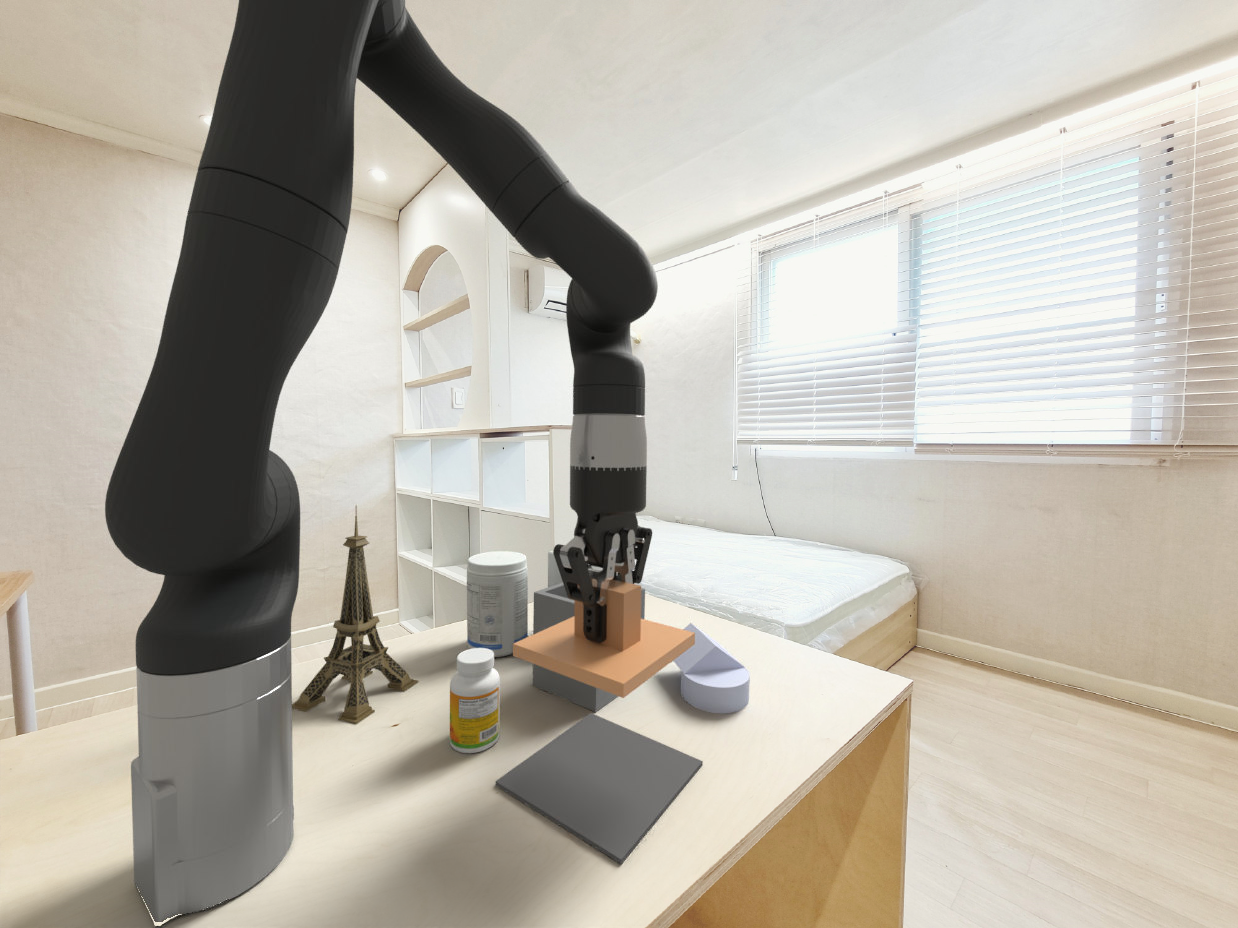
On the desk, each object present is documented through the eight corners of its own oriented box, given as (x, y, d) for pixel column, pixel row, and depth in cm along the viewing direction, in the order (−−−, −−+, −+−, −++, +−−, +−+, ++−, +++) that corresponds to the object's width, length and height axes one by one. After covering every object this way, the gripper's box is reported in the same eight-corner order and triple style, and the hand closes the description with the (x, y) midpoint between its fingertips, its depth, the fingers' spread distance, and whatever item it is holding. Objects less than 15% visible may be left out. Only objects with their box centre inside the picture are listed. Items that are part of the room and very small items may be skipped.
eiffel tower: (288, 708, 60) (286, 507, 59) (357, 670, 71) (356, 498, 69) (356, 724, 57) (355, 513, 56) (418, 682, 67) (418, 502, 66)
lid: (623, 712, 40) (624, 617, 40) (513, 667, 47) (513, 587, 47) (694, 655, 51) (696, 580, 50) (595, 626, 58) (596, 560, 58)
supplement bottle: (456, 725, 57) (457, 644, 57) (503, 724, 58) (503, 644, 57) (443, 755, 52) (443, 666, 52) (494, 754, 52) (495, 665, 52)
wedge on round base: (661, 669, 73) (697, 717, 60) (662, 624, 73) (698, 664, 60) (716, 663, 75) (761, 708, 63) (718, 620, 75) (763, 657, 62)
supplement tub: (511, 630, 86) (512, 547, 85) (538, 648, 79) (539, 558, 78) (457, 644, 80) (457, 555, 79) (481, 665, 73) (481, 567, 72)
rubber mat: (621, 864, 39) (621, 859, 39) (495, 784, 48) (495, 780, 48) (702, 764, 51) (702, 760, 51) (590, 715, 60) (590, 712, 60)
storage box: (595, 712, 61) (597, 609, 60) (532, 685, 67) (533, 592, 67) (642, 678, 70) (645, 588, 69) (583, 657, 76) (584, 574, 76)
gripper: (594, 466, 40) (592, 672, 41) (676, 461, 52) (673, 621, 52) (529, 463, 44) (529, 649, 45) (618, 458, 56) (616, 607, 57)
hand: (606, 633), depth 49 cm, fingers closed on lid, 3 cm apart
